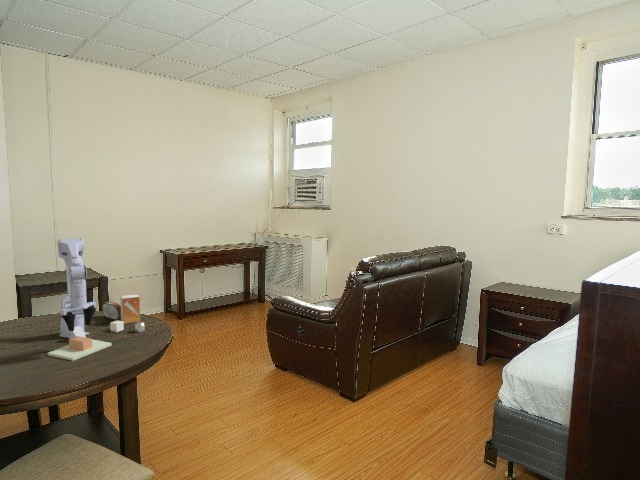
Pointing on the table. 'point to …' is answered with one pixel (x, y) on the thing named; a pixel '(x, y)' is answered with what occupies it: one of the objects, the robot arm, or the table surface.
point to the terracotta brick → (80, 343)
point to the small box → (130, 308)
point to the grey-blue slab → (77, 332)
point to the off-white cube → (117, 326)
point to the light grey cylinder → (140, 327)
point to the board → (78, 351)
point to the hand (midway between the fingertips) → (79, 327)
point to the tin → (112, 310)
